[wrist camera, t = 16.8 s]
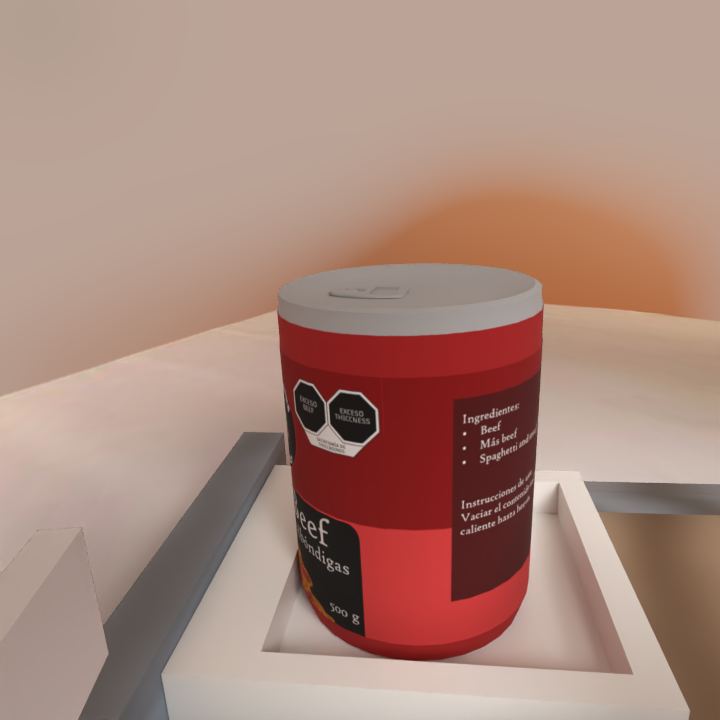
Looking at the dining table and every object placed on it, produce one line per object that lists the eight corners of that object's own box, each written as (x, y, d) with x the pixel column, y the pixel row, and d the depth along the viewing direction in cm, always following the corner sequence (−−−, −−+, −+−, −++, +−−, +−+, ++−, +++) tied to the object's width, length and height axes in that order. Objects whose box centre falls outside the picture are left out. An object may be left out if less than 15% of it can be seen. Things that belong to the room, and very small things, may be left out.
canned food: (308, 529, 25) (287, 268, 22) (498, 520, 25) (506, 258, 22) (292, 677, 18) (257, 317, 14) (559, 664, 18) (586, 302, 14)
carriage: (574, 521, 26) (578, 471, 26) (677, 786, 15) (690, 710, 14) (279, 512, 28) (274, 464, 27) (173, 743, 17) (161, 673, 16)
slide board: (788, 524, 27) (805, 439, 26) (1219, 964, 12) (1311, 814, 11) (224, 507, 31) (214, 432, 30) (21, 833, 16) (-17, 708, 14)
